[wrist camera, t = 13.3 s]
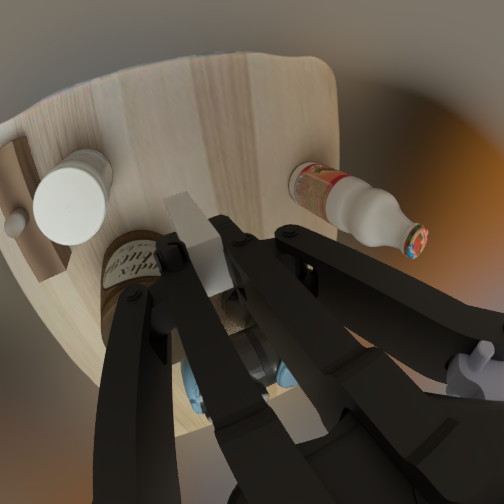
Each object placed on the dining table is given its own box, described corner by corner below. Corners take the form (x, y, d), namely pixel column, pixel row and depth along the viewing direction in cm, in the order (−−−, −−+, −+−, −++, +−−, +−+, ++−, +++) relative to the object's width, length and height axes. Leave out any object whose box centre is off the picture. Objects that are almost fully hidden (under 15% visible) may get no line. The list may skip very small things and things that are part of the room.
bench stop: (26, 136, 27) (0, 144, 19) (71, 252, 40) (62, 284, 32) (-1, 153, 26) (-29, 166, 18) (46, 264, 38) (34, 297, 30)
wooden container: (181, 227, 47) (221, 305, 30) (178, 295, 54) (211, 381, 36) (99, 231, 40) (87, 317, 23) (107, 301, 47) (113, 395, 30)
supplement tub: (50, 167, 32) (17, 193, 20) (99, 136, 33) (83, 147, 22) (75, 216, 37) (57, 260, 26) (122, 189, 39) (120, 223, 28)
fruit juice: (278, 185, 51) (392, 254, 29) (309, 151, 50) (431, 198, 28) (304, 212, 57) (406, 283, 35) (331, 180, 56) (439, 236, 34)
